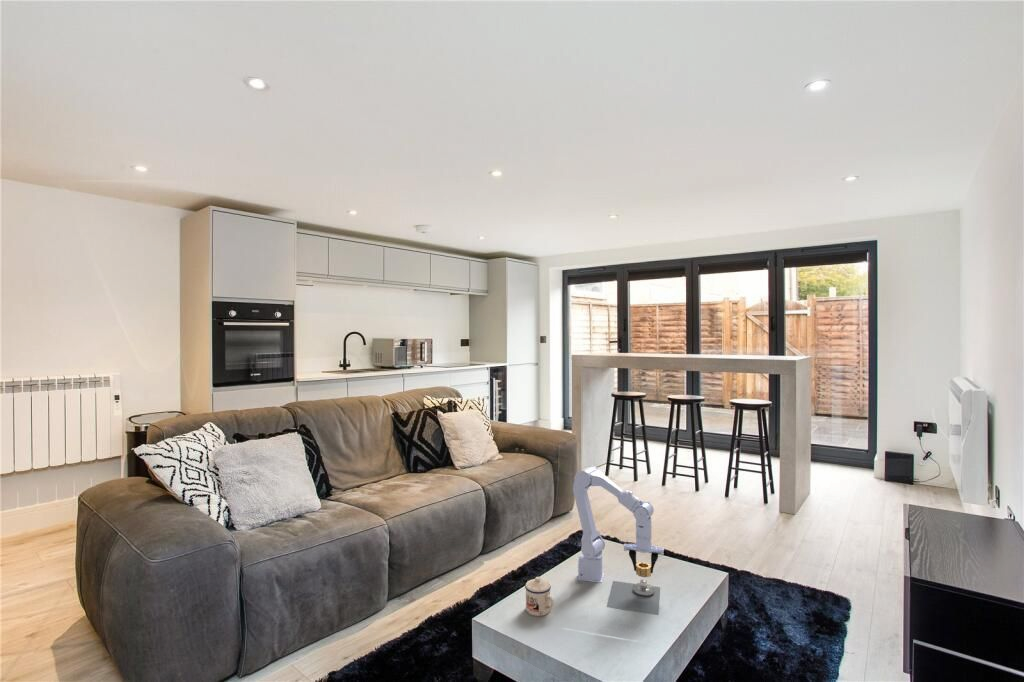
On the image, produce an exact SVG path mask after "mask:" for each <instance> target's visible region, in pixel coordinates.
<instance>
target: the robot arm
mask: <svg viewBox="0 0 1024 682" xmlns="http://www.w3.org/2000/svg"><path fill="white" fill-rule="evenodd" d="M573 478H574V482H573V487H572V491H573V492H572V493H573V496H574V500H575V504H576V505H575V506H576V508H577V513H578V516H579V520H580V521H579V522H580V525H581V530H582V537H581V538H580V539H581V540H580V542H581V546H580V547H581V549H580V550H581V553H580V554H579V556H578V560H577V562H578V563H577V564H578V566H577V568H578V569H577V572H578V574H577V576H578V577H577V580H579V581H586V582H592V583H598V584H599V583H600V584H602V583H603V582H604V581H603V580H604V576H605V573H604V572H603V551H604V549H605V547H606V543H605V540H604V539H603V537H602V534H601V532H600V531H599V530H597V527H596V522H595V519H594V515H593V510H592V506H591V501H590V497H589V494H588V490H589V489H590V487H601V488H602V489H604V490H606V491H607V492H608V493H610V494H612V495H613V496H614V497H616V498H617V501H618V503H619V504H620V505H622V506H623V507H624V508H625V509H627V510H628V511H629V512H631V513H632V515H633V516H634V519H635V543H624V544H623V551H624V552H625V551H626V552H627V551H628V555H629V559H630V560H631V562H632V563H631V564H632V565H633V571H634V572H636V563H637V552H638V553H641V554H647V553H648V554H650V565H651V574H653V572H654V568H655V565H656V562H657V561H658V558H659V556H664V550H665V549H664V548H663V547H658V546H654V545H652V516H653V514H654V507H653V505H652V504H651V503H650V502H648V501H645V500H643V499H640V498H639V497H637V496H636V495H634V494H633V493H634V492H633V491H632V490H628V489H625V490H623V489H622V488H621V487H619V486H618V485H617V484H616V483H614V481H612V480H611V479H610V478H608V477H607V476H606V475H605V474H604V472H602V470H600V469H599V468H598V467H597V466H594V465H590V466H587V467H586V468H583V469H582V470H578V472H577V473H576V474H575V476H574V477H573Z"/></svg>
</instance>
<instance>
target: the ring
mask: <svg viewBox="0 0 1024 682" xmlns="http://www.w3.org/2000/svg"><path fill="white" fill-rule="evenodd" d="M635 573H636V576H638V577H641V578H649V577H651V576H652V573H651V563H648V562H644V561H639V562H636V571H635Z"/></svg>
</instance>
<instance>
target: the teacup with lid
mask: <svg viewBox="0 0 1024 682" xmlns="http://www.w3.org/2000/svg"><path fill="white" fill-rule="evenodd" d="M551 586H552V585H551V584H550V582H549V581H548V580H546V579H544V578H543V579H542V578H541V577H540V576H536V577H535V578H533V579H532V578H531V579H529V580H527V582H526V583H525V586H524V588H525V610H526V612H527V613H528V614H529V615H530V616H535V617H542V616H546V615H548V614H549V613H550V611H551V610H552V609H553V608H554V605H555V601H554V598H553V597H552V595H551V588H552V587H551Z"/></svg>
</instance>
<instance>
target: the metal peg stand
mask: <svg viewBox="0 0 1024 682" xmlns="http://www.w3.org/2000/svg"><path fill="white" fill-rule="evenodd" d="M634 584H635V585H633V592H634V593H635V594H636V595H638V596H642V597H650V596H652V595H654V587H655V586H654V587H653V585H651V584H648V581H647V580H646V579H640V582H638V583H634Z"/></svg>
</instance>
